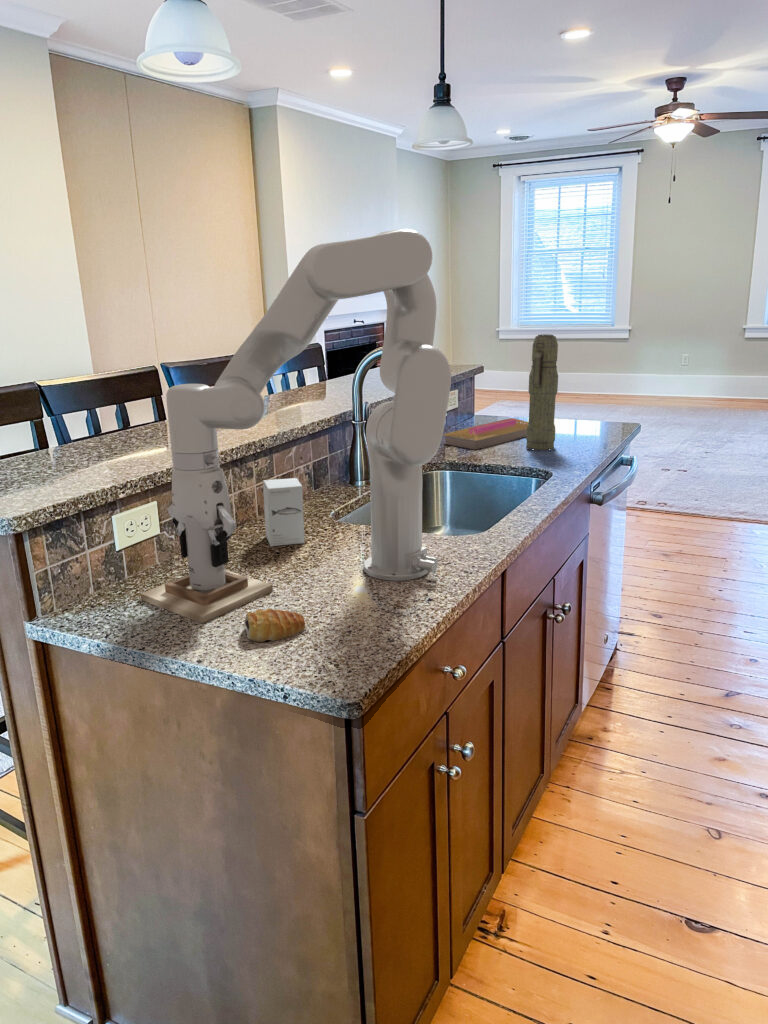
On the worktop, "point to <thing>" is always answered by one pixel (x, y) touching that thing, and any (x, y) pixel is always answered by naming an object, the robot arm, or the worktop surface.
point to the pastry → (273, 624)
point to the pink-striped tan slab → (500, 429)
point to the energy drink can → (202, 558)
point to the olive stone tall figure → (542, 393)
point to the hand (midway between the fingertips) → (204, 559)
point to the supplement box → (283, 511)
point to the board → (206, 596)
